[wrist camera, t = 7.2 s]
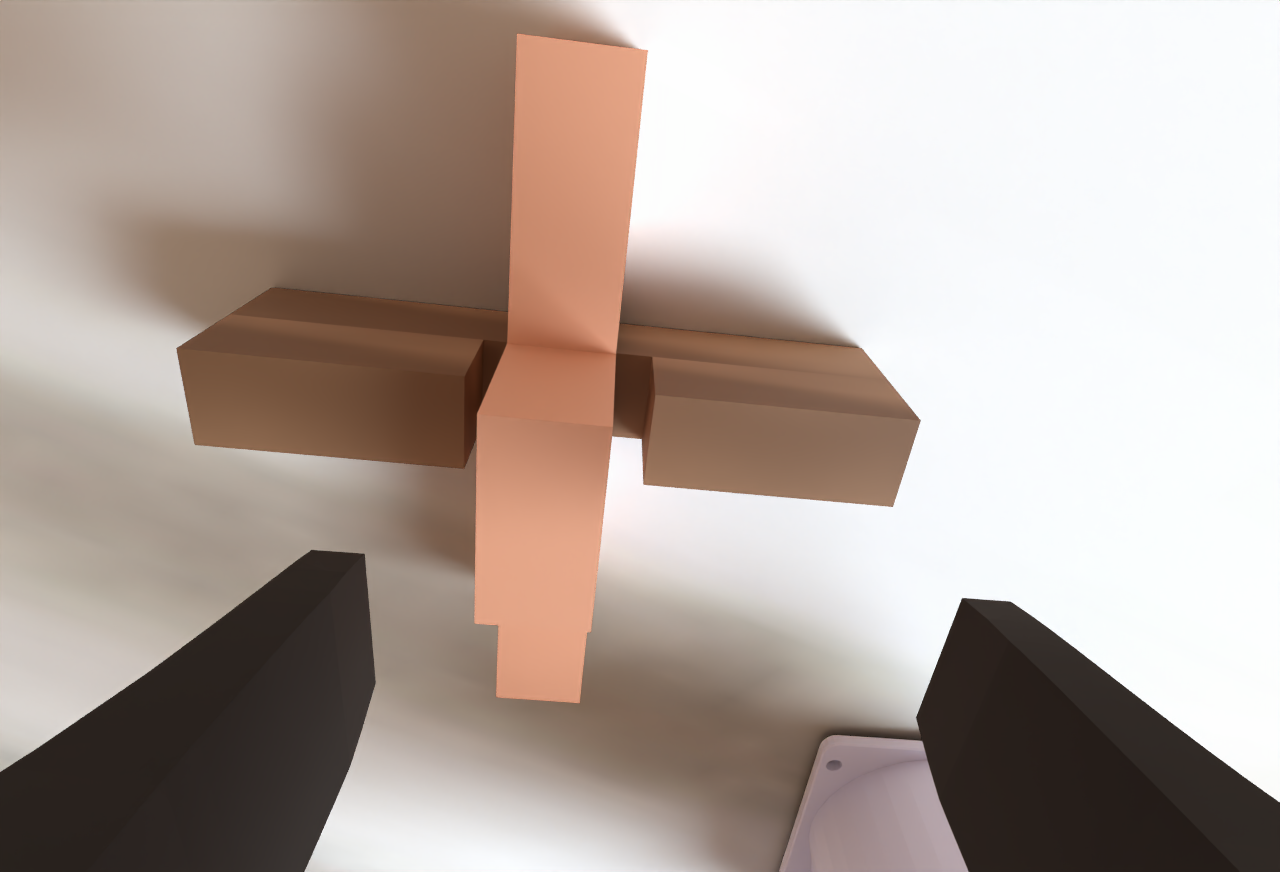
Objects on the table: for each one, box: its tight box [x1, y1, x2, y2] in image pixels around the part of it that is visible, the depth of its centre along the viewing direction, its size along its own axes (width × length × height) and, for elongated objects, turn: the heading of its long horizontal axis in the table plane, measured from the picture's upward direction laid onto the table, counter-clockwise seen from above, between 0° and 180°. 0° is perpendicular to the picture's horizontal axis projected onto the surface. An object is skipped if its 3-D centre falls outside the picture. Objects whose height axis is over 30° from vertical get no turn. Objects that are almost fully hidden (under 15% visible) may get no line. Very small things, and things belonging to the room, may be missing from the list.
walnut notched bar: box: [176, 288, 921, 507], centre depth 16 cm, size 2×14×4 cm, turn 84°
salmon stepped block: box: [475, 34, 648, 703], centre depth 15 cm, size 14×2×7 cm, turn 174°
